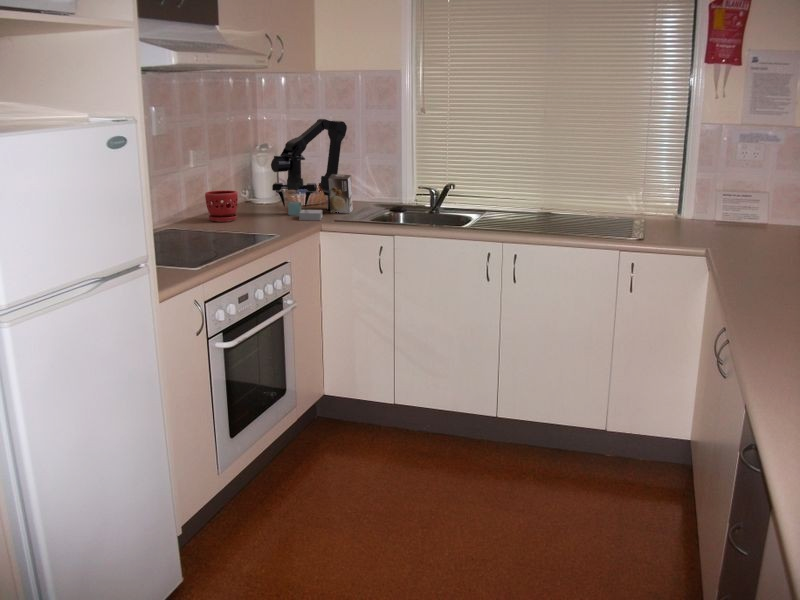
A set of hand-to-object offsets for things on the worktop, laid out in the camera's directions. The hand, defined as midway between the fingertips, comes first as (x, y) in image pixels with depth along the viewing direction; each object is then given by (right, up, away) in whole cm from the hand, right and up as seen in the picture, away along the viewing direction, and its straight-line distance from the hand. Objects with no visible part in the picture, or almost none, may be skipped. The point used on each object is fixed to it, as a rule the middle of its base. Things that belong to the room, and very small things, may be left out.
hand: (295, 206), depth 350 cm
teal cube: (0, -3, +1) cm, 4 cm away
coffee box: (+20, -1, +8) cm, 21 cm away
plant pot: (-28, -8, -17) cm, 34 cm away
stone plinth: (+8, -6, -9) cm, 13 cm away
